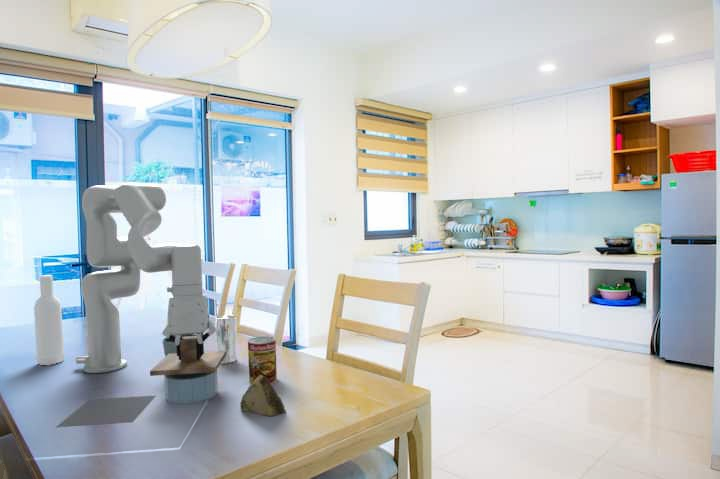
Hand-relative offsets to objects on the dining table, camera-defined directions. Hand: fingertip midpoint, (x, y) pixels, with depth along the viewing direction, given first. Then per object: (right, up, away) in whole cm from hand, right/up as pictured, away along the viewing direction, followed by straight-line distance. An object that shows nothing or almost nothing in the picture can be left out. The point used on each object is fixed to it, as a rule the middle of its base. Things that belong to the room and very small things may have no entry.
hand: (190, 357), depth 129 cm
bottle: (-61, -11, +35) cm, 71 cm away
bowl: (0, -10, 0) cm, 10 cm away
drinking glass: (-8, -10, +17) cm, 21 cm away
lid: (0, -2, 0) cm, 2 cm away
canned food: (+17, -10, +11) cm, 23 cm away
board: (-17, -11, -9) cm, 22 cm away
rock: (+22, -11, -11) cm, 27 cm away
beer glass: (+1, -9, +32) cm, 33 cm away
